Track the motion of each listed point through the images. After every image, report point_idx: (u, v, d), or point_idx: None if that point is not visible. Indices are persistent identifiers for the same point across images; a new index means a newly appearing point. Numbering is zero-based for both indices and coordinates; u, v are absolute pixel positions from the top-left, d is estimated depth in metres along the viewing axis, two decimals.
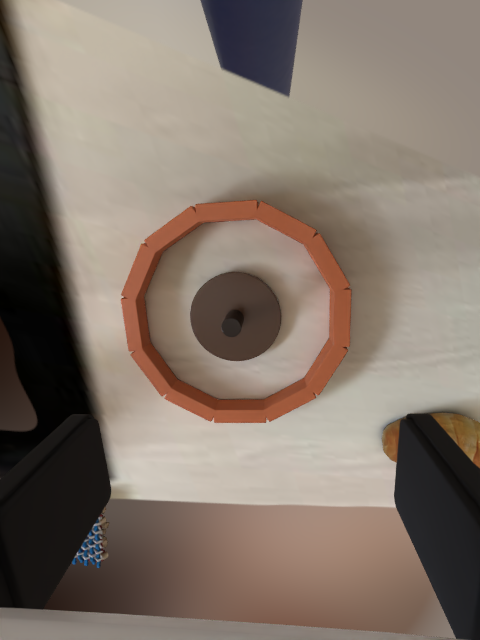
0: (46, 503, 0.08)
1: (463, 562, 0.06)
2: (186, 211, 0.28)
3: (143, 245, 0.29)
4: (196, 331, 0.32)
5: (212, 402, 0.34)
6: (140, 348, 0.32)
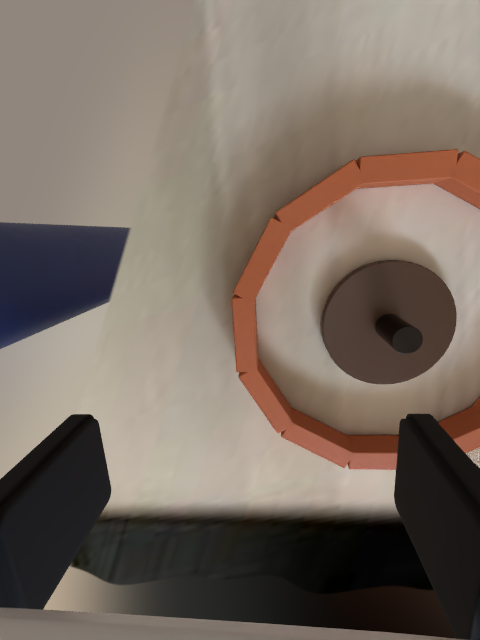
0: (46, 503, 0.08)
1: (463, 562, 0.06)
2: (244, 382, 0.23)
3: (283, 435, 0.24)
4: (401, 378, 0.23)
5: None
6: None
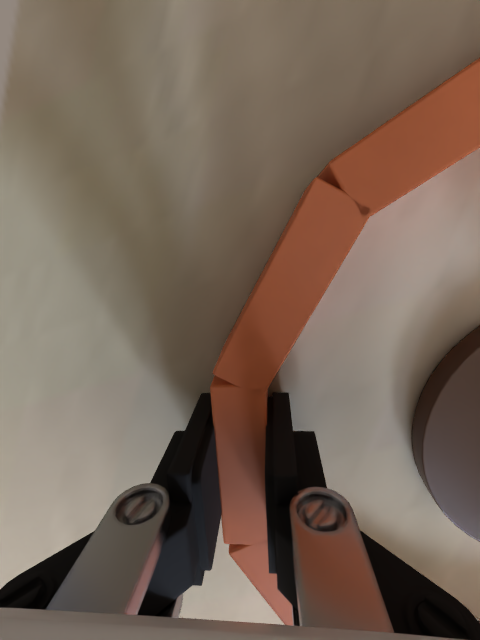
0: (211, 467, 0.08)
1: None
2: (242, 565, 0.10)
3: None
4: None
5: None
6: None
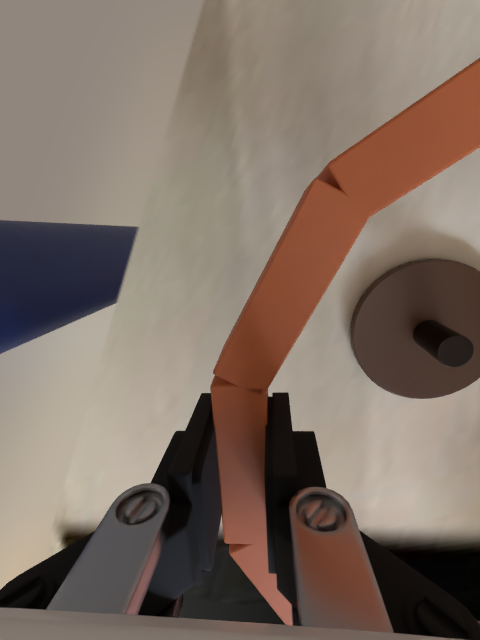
0: (211, 467, 0.08)
1: None
2: (243, 565, 0.10)
3: None
4: (441, 392, 0.21)
5: None
6: None
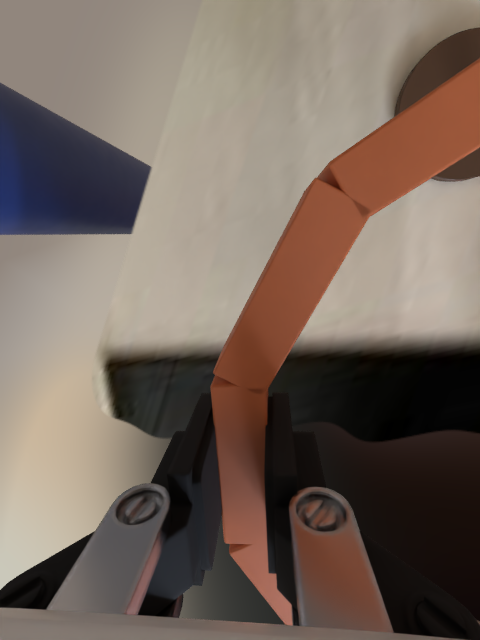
0: (211, 467, 0.08)
1: None
2: (243, 565, 0.10)
3: None
4: (478, 171, 0.23)
5: None
6: None
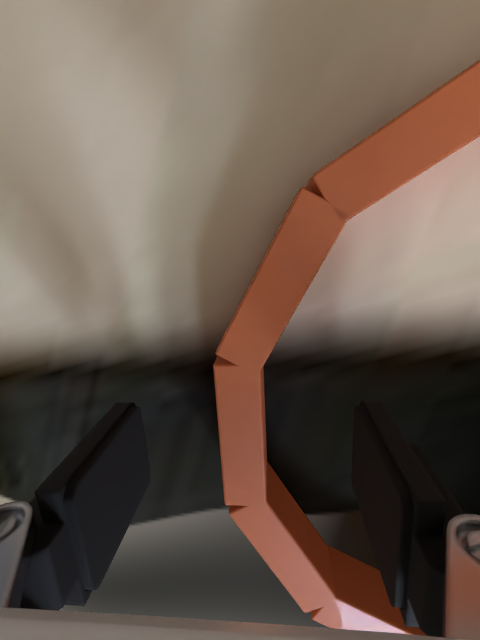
0: (104, 482, 0.08)
1: (391, 527, 0.07)
2: (241, 524, 0.12)
3: (316, 616, 0.12)
4: None
5: None
6: None
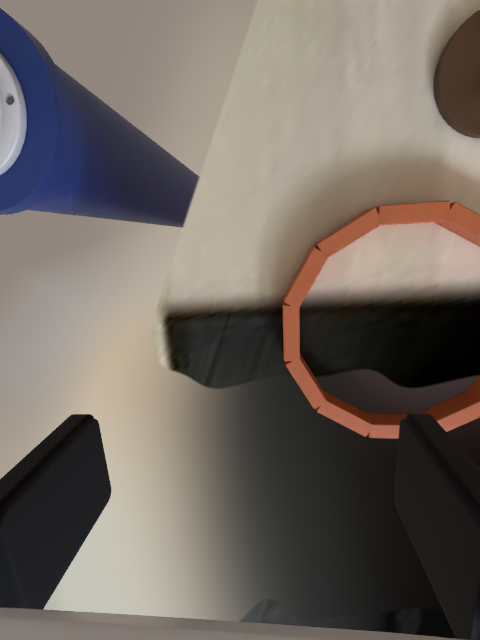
0: (46, 503, 0.08)
1: (463, 562, 0.06)
2: (290, 369, 0.31)
3: (318, 410, 0.31)
4: None
5: None
6: None
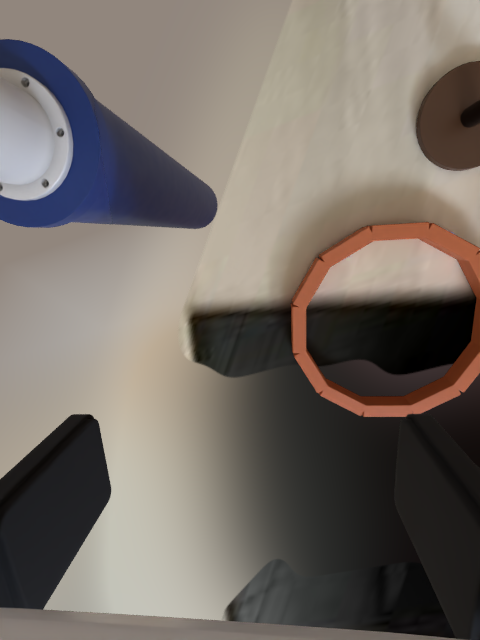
0: (46, 503, 0.08)
1: (463, 562, 0.06)
2: (297, 360, 0.37)
3: (321, 394, 0.37)
4: (478, 162, 0.31)
5: (473, 348, 0.35)
6: (410, 406, 0.37)
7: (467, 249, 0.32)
